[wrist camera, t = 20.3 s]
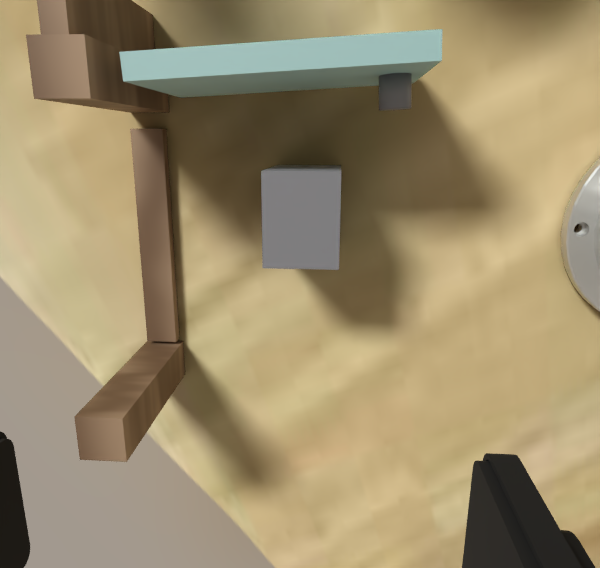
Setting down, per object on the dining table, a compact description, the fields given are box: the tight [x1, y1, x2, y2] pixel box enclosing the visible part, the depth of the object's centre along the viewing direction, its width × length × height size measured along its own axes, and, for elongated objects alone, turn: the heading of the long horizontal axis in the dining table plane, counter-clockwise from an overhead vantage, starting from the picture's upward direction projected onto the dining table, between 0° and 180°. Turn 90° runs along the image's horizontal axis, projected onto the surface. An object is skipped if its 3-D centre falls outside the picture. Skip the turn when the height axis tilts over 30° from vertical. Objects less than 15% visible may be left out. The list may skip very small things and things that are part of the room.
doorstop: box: [261, 165, 341, 270], centre depth 29 cm, size 5×4×7 cm
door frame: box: [26, 0, 185, 462], centre depth 29 cm, size 2×23×10 cm, turn 0°
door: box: [119, 29, 442, 111], centre depth 26 cm, size 3×14×8 cm, turn 93°
